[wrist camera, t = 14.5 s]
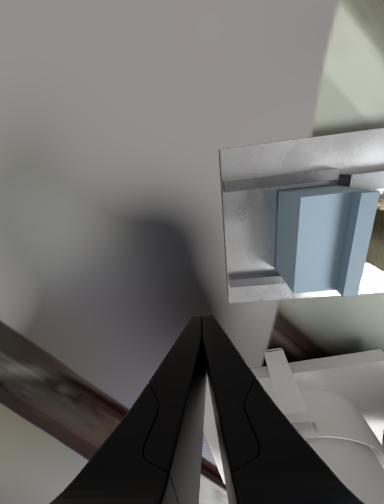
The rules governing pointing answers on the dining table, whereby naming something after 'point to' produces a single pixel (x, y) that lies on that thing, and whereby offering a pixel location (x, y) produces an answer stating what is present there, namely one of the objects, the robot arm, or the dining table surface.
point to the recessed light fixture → (328, 413)
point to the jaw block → (377, 239)
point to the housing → (324, 237)
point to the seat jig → (266, 203)
